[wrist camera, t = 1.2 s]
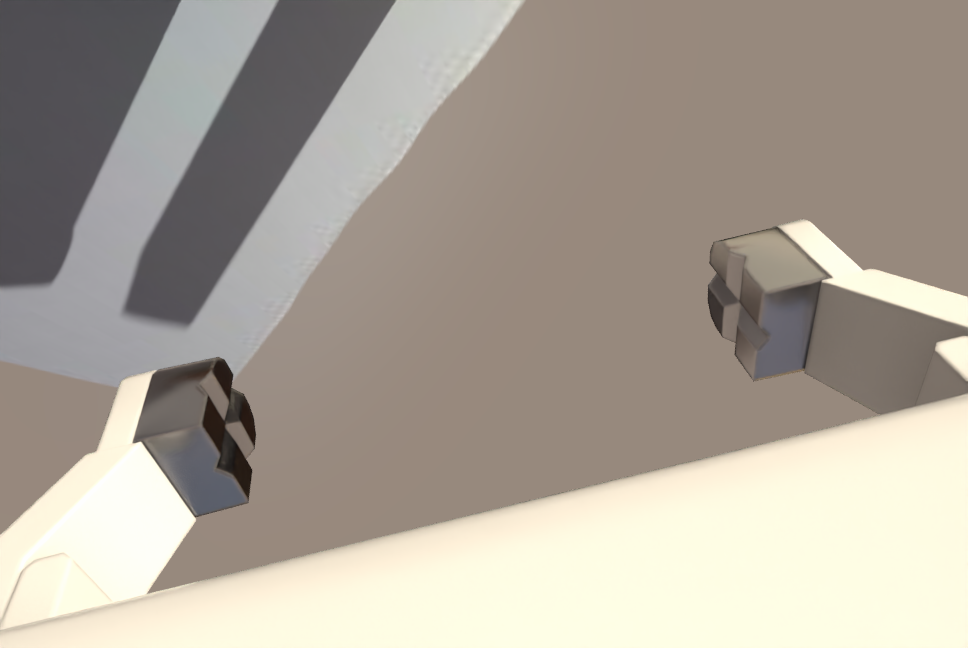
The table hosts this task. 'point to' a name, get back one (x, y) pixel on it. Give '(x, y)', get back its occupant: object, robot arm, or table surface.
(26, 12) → the table surface
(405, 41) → the table surface
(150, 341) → the table surface
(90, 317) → the table surface
